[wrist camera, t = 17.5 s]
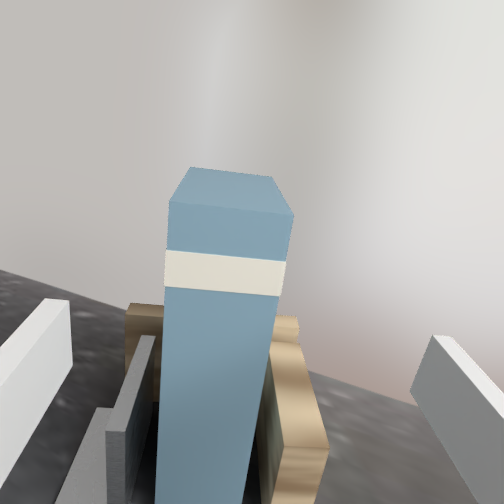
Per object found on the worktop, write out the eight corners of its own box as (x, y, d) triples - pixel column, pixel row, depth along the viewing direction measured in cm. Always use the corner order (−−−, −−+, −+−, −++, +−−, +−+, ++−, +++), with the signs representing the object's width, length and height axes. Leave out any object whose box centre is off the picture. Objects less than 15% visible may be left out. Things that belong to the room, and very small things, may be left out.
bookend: (124, 524, 26) (124, 431, 22) (48, 523, 25) (36, 427, 22) (152, 413, 35) (155, 335, 32) (97, 410, 34) (94, 331, 31)
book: (237, 529, 26) (295, 215, 18) (152, 528, 26) (167, 201, 17) (235, 418, 36) (272, 176, 27) (173, 415, 35) (189, 166, 26)
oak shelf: (304, 535, 27) (333, 436, 23) (78, 531, 25) (70, 423, 21) (279, 394, 40) (295, 316, 36) (130, 385, 38) (130, 302, 34)
